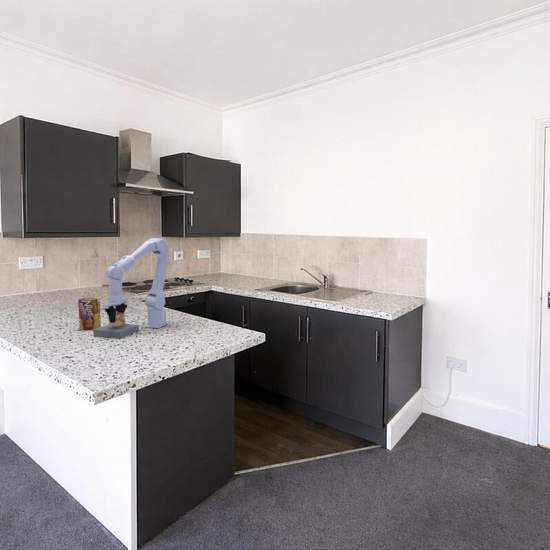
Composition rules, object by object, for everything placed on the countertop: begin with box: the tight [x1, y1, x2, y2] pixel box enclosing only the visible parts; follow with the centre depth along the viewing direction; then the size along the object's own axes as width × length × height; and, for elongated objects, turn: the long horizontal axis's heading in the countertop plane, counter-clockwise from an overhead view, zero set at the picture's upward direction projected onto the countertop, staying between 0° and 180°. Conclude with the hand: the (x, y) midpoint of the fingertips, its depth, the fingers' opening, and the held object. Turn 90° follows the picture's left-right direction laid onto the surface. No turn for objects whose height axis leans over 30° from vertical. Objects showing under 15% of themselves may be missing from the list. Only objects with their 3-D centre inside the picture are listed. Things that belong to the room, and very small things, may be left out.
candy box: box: [77, 296, 102, 331], centre depth 189 cm, size 9×4×15 cm, turn 100°
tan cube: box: [108, 311, 126, 326], centre depth 181 cm, size 5×5×5 cm
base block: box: [92, 323, 140, 340], centre depth 182 cm, size 14×14×3 cm
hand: (116, 321), depth 181 cm, fingers closed on tan cube, 5 cm apart
